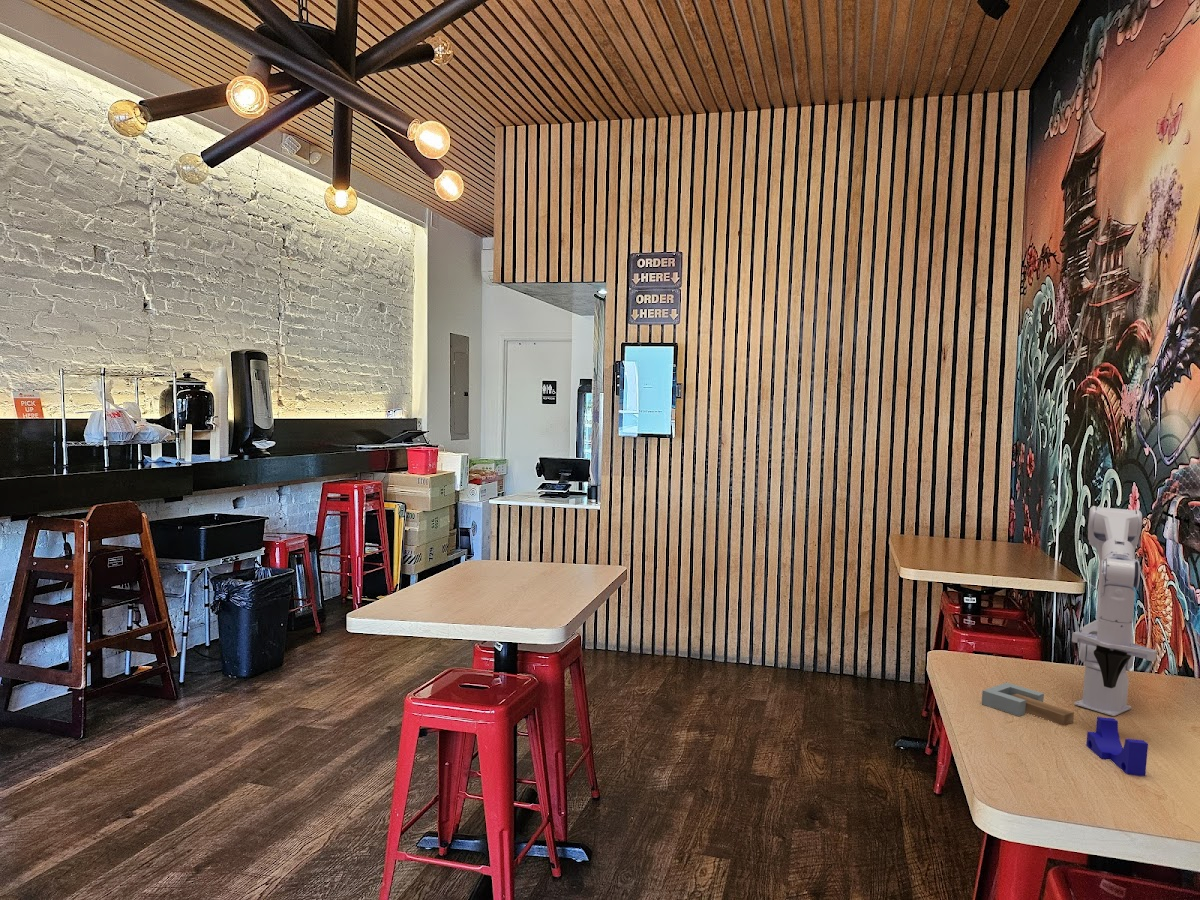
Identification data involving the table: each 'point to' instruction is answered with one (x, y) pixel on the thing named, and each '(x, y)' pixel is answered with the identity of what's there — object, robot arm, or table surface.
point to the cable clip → (1118, 747)
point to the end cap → (1009, 698)
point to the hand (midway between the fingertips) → (1109, 686)
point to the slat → (1047, 711)
